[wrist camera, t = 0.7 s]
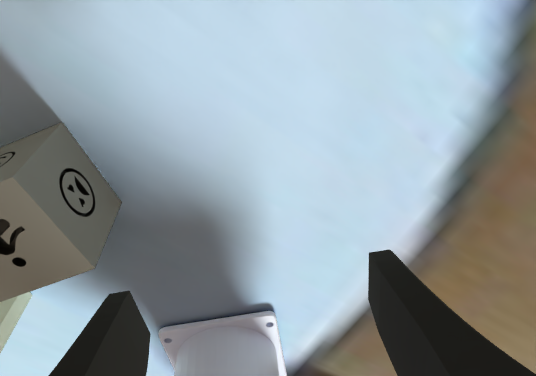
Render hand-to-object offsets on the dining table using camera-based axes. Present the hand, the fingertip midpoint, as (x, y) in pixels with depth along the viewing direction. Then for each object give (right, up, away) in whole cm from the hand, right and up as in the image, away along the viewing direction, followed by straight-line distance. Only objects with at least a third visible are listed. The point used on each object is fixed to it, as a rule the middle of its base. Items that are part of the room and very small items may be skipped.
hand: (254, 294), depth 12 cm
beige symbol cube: (-11, +4, +8) cm, 14 cm away
